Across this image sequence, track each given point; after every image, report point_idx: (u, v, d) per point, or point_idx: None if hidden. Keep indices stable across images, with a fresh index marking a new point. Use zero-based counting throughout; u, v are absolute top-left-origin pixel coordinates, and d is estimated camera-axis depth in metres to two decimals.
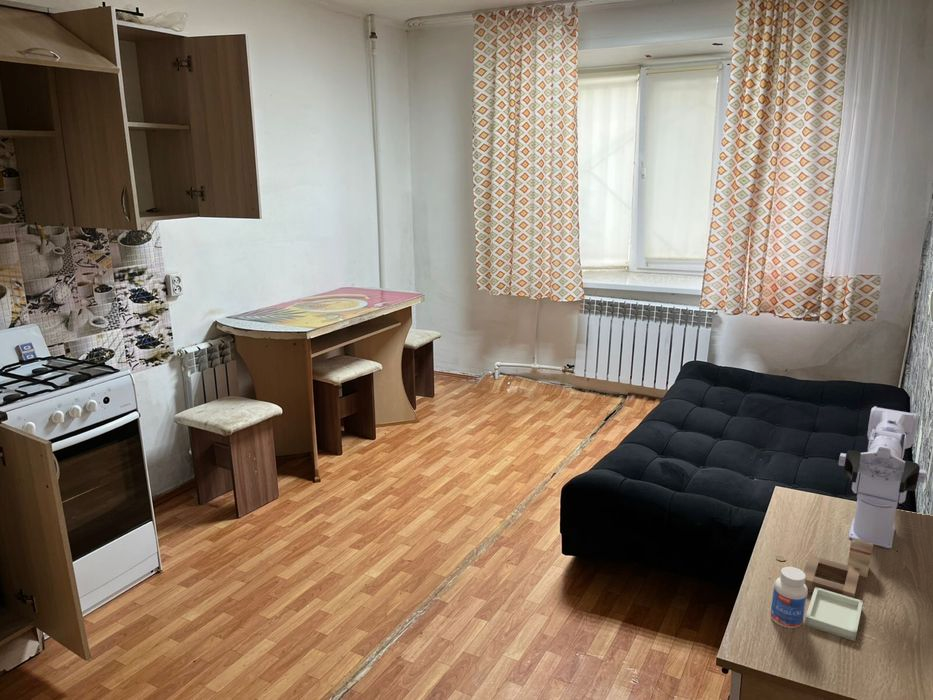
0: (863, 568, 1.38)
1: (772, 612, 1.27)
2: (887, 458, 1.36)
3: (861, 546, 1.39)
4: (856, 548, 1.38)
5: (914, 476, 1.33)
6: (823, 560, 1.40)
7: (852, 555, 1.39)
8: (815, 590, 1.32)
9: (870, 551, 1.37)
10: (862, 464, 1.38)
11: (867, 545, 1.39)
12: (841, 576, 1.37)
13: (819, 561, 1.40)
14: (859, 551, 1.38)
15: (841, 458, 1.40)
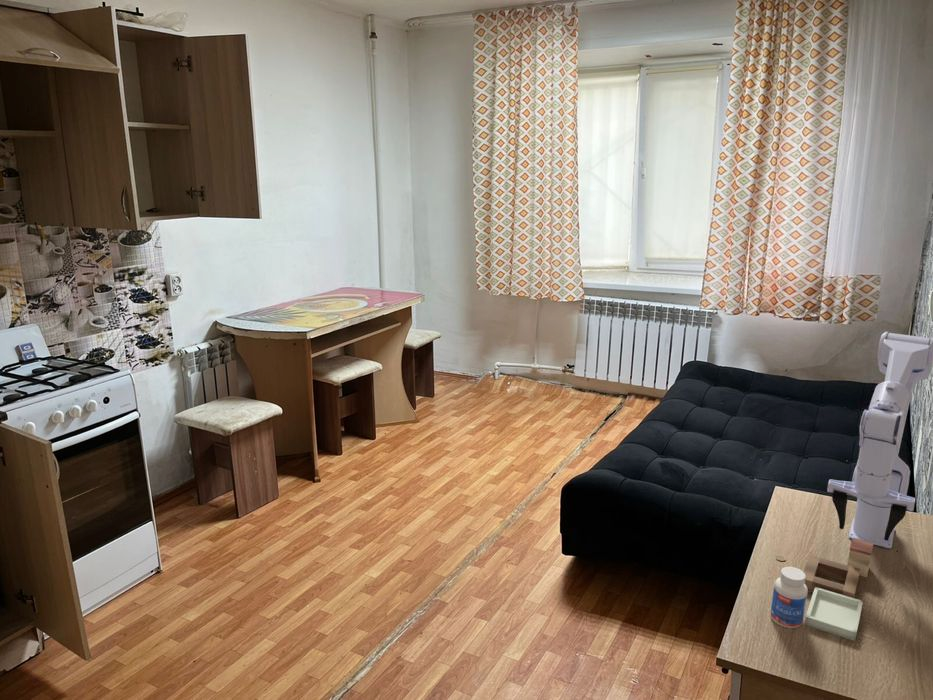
0: (863, 568, 1.38)
1: (772, 612, 1.27)
2: None
3: (861, 546, 1.39)
4: (856, 548, 1.38)
5: None
6: (823, 560, 1.40)
7: (852, 555, 1.39)
8: (815, 590, 1.32)
9: (870, 551, 1.37)
10: None
11: (867, 545, 1.39)
12: (841, 576, 1.37)
13: (819, 561, 1.40)
14: (859, 551, 1.38)
15: None
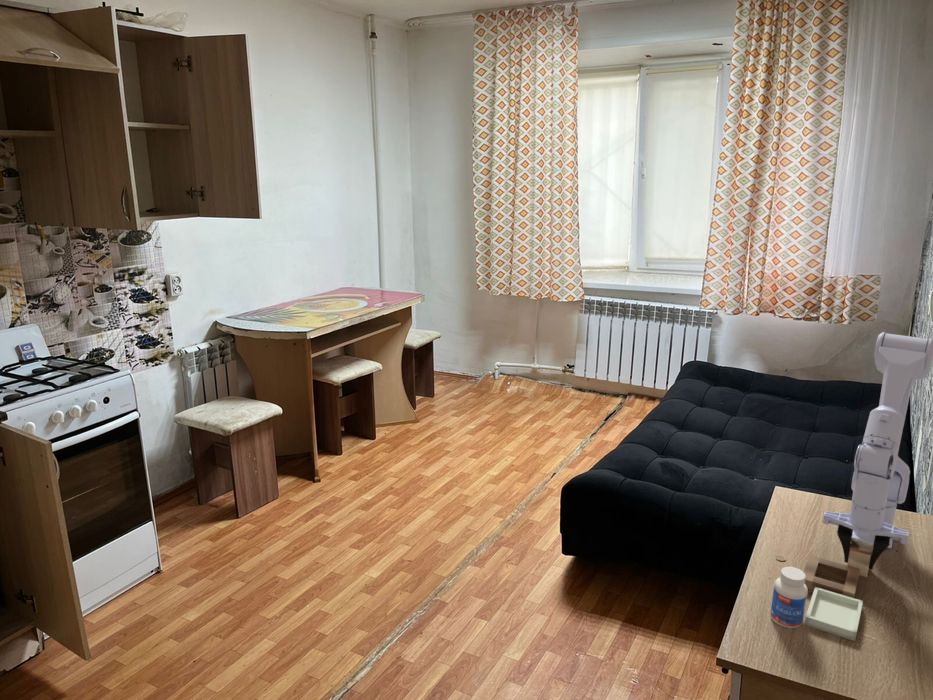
0: (863, 567, 1.38)
1: (772, 612, 1.27)
2: None
3: (861, 546, 1.39)
4: (856, 548, 1.38)
5: None
6: (823, 560, 1.40)
7: (852, 555, 1.39)
8: (815, 590, 1.32)
9: (870, 551, 1.37)
10: None
11: (867, 545, 1.39)
12: (841, 576, 1.37)
13: (819, 561, 1.40)
14: (859, 551, 1.38)
15: None
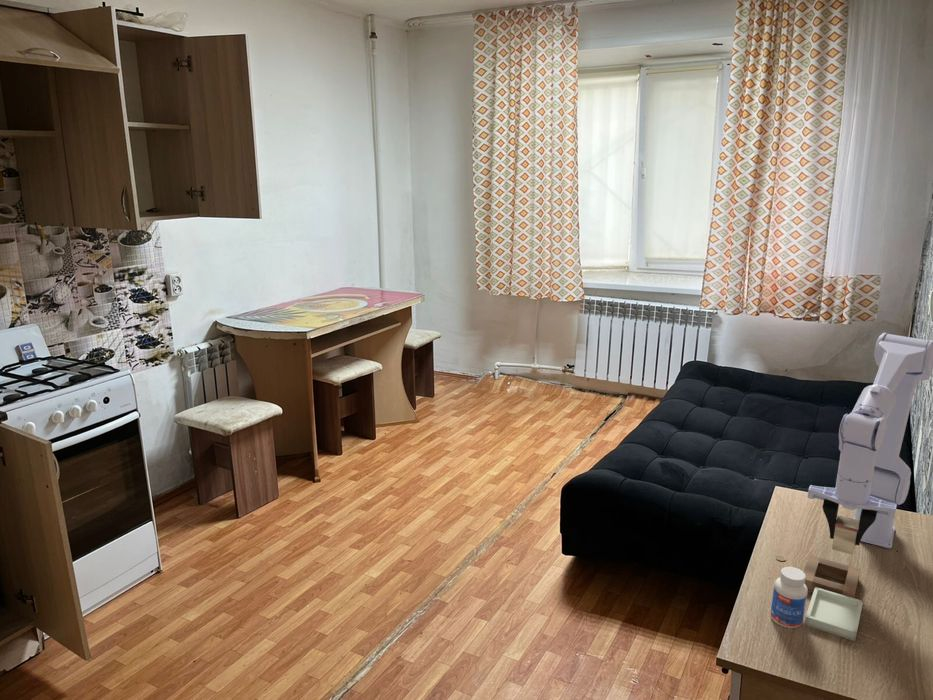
0: (849, 545, 1.33)
1: (772, 612, 1.27)
2: None
3: (847, 523, 1.33)
4: (841, 524, 1.33)
5: None
6: (823, 560, 1.40)
7: (838, 532, 1.33)
8: (815, 590, 1.32)
9: (856, 527, 1.32)
10: None
11: (853, 521, 1.34)
12: (841, 576, 1.37)
13: (819, 561, 1.40)
14: (845, 527, 1.32)
15: None
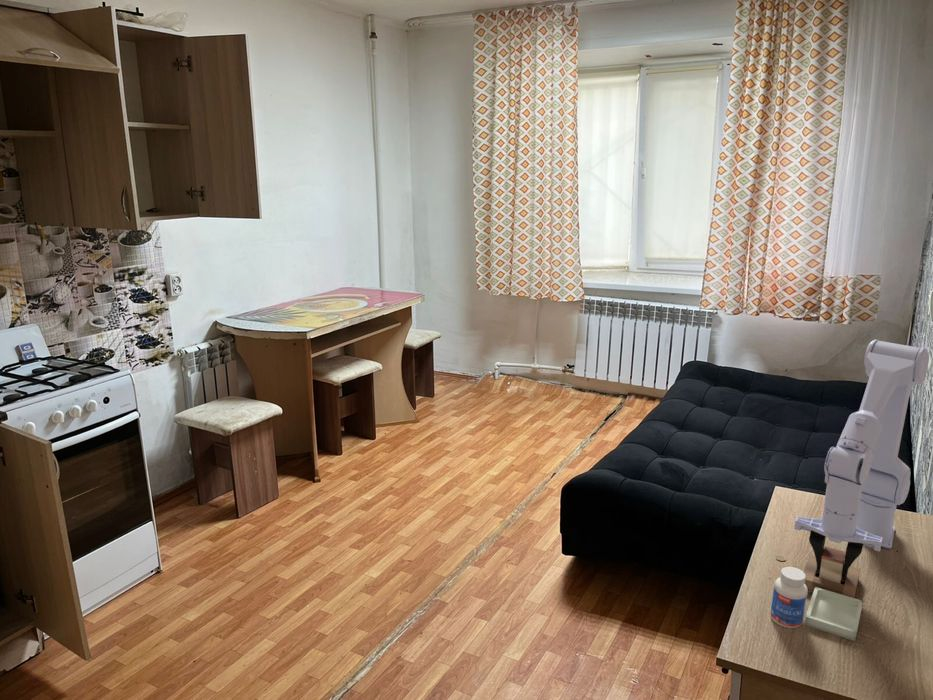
0: (836, 576, 1.33)
1: (772, 612, 1.27)
2: None
3: (834, 555, 1.34)
4: (828, 556, 1.34)
5: None
6: None
7: (824, 563, 1.34)
8: (815, 590, 1.32)
9: (842, 559, 1.32)
10: None
11: (840, 553, 1.34)
12: None
13: None
14: (831, 559, 1.33)
15: None
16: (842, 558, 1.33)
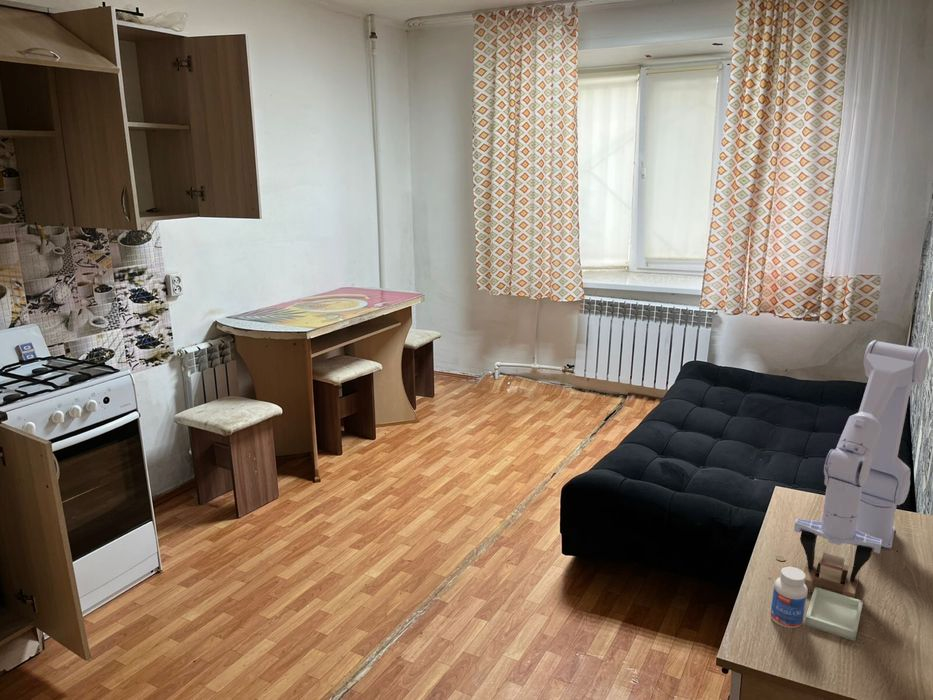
0: None
1: (772, 612, 1.27)
2: None
3: (833, 561, 1.34)
4: (827, 562, 1.34)
5: None
6: None
7: (823, 570, 1.34)
8: (815, 590, 1.32)
9: (841, 566, 1.33)
10: None
11: (838, 559, 1.35)
12: None
13: (819, 561, 1.40)
14: (830, 566, 1.33)
15: None
16: (841, 565, 1.33)
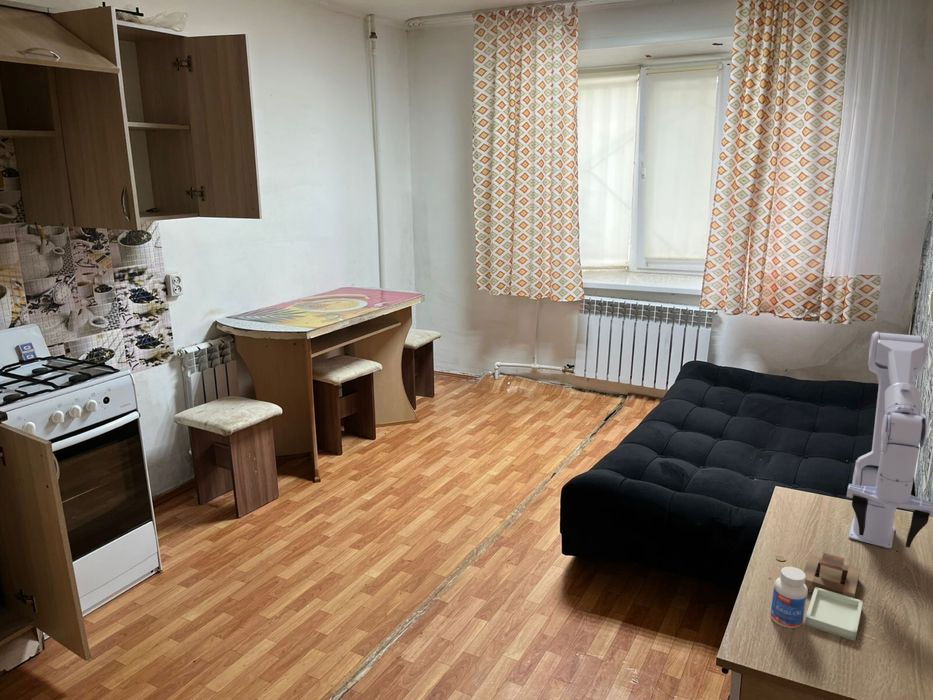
0: None
1: (772, 612, 1.27)
2: None
3: (833, 561, 1.34)
4: (827, 562, 1.34)
5: None
6: None
7: (823, 570, 1.34)
8: (815, 590, 1.32)
9: (841, 566, 1.33)
10: None
11: (838, 559, 1.35)
12: None
13: (819, 561, 1.40)
14: (830, 566, 1.33)
15: None
16: (841, 564, 1.33)
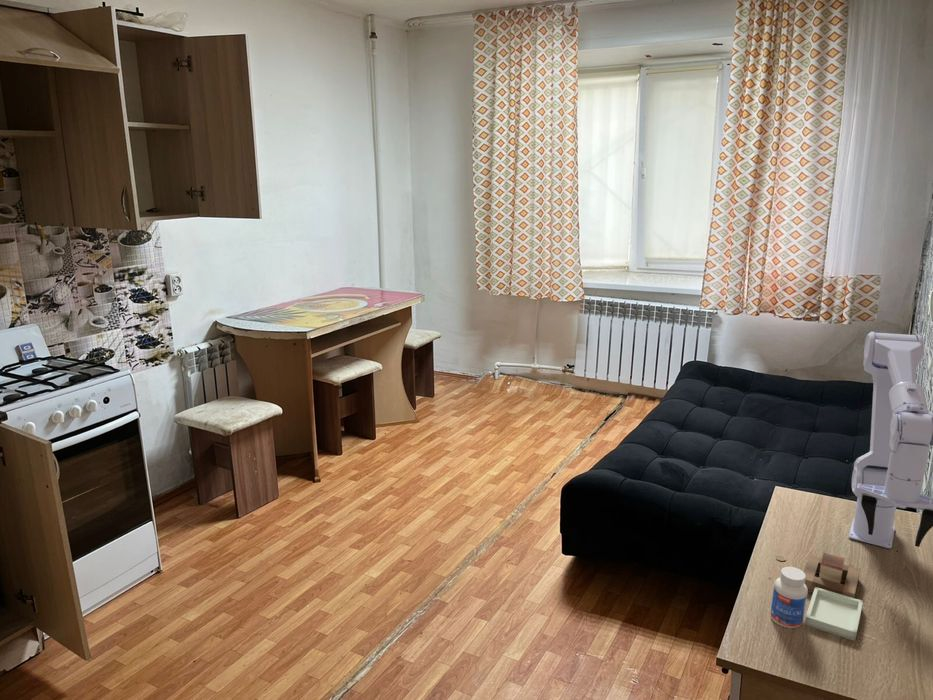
0: None
1: (772, 612, 1.27)
2: None
3: (833, 561, 1.34)
4: (827, 562, 1.34)
5: None
6: None
7: (823, 570, 1.34)
8: (815, 590, 1.32)
9: (841, 566, 1.33)
10: None
11: (838, 559, 1.35)
12: None
13: (819, 561, 1.40)
14: (830, 566, 1.33)
15: None
16: (841, 564, 1.33)
